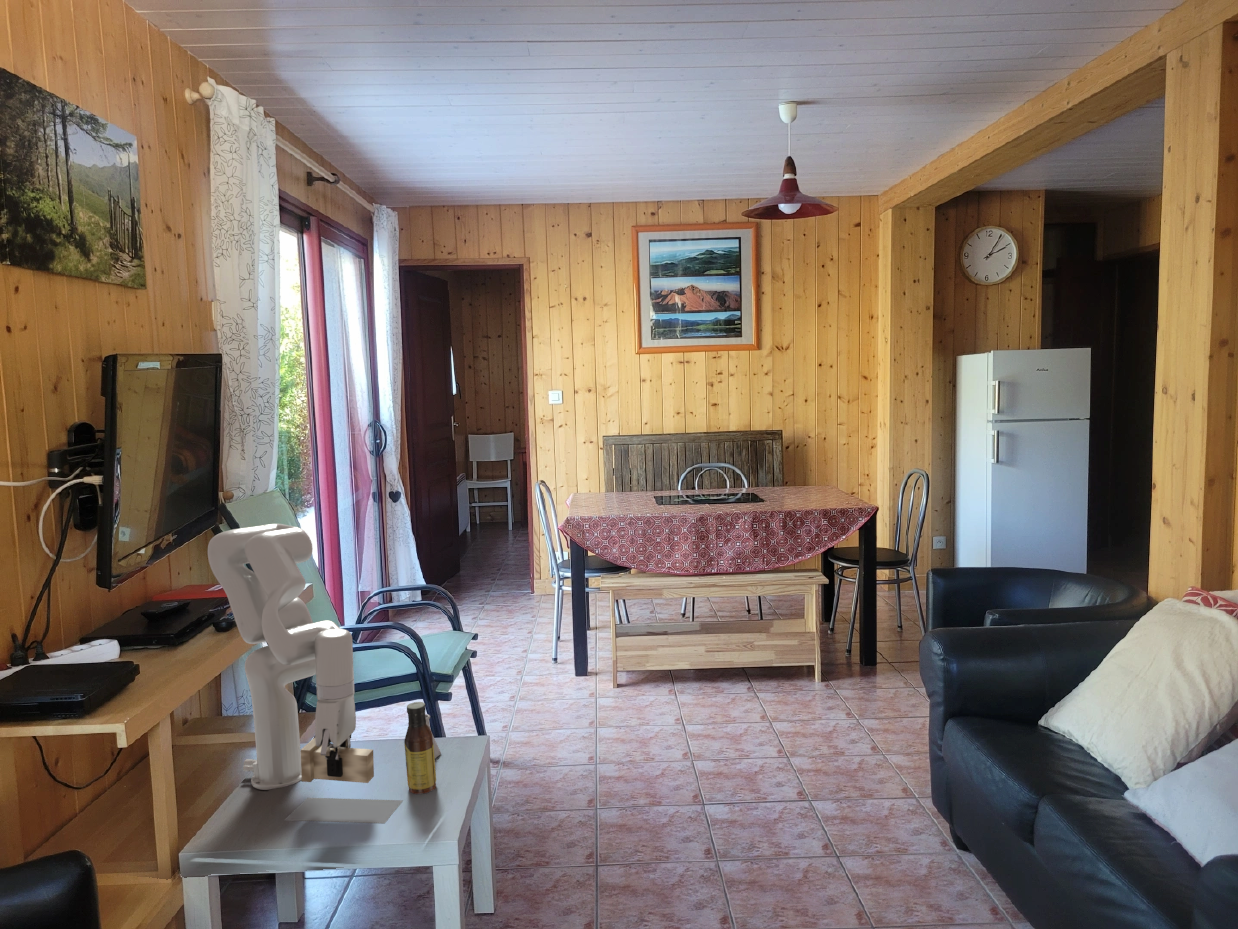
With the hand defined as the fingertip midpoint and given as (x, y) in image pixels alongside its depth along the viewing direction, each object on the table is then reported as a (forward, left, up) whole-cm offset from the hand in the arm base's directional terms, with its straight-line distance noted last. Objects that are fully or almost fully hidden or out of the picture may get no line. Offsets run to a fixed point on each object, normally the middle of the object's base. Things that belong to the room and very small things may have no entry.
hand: (339, 771), depth 185 cm
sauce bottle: (+14, +10, -9) cm, 20 cm away
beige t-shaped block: (0, 0, -1) cm, 1 cm away
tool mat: (+1, -1, -9) cm, 9 cm away
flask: (+8, +28, -9) cm, 31 cm away
